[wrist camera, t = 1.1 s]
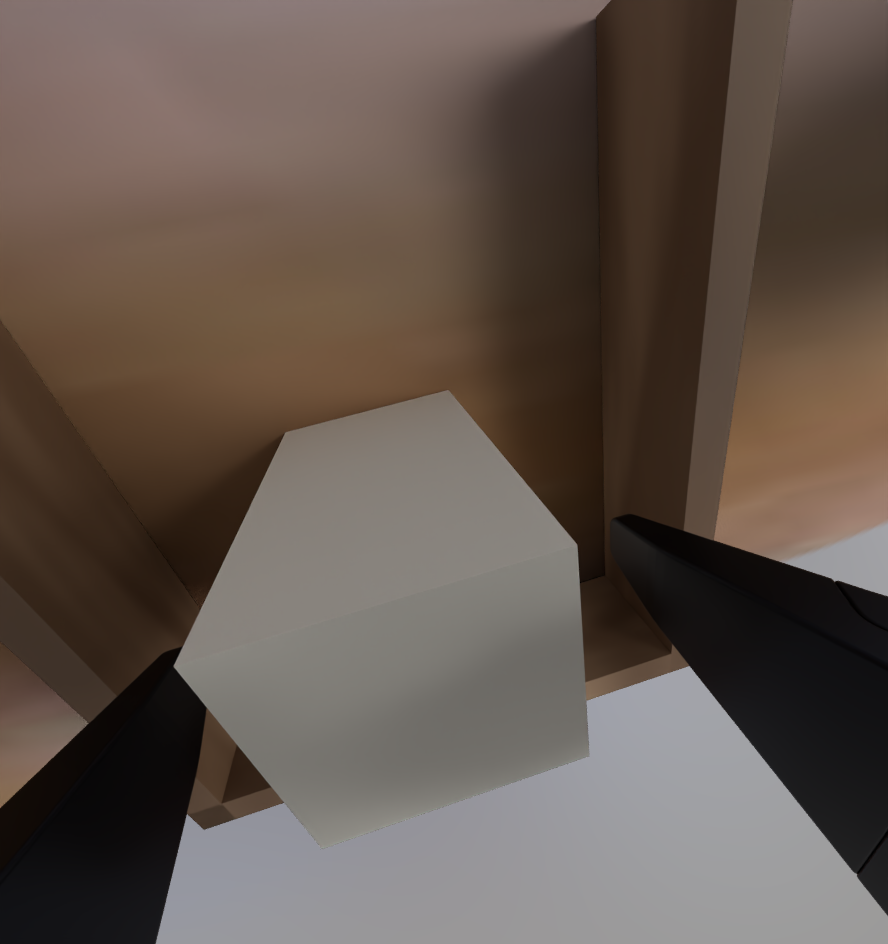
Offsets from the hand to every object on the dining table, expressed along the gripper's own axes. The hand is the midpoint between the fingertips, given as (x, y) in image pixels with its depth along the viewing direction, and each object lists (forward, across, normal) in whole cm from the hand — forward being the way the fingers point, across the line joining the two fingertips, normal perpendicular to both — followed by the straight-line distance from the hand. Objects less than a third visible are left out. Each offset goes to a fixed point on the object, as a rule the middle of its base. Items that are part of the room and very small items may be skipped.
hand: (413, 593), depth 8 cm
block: (+5, 0, 0) cm, 5 cm away
